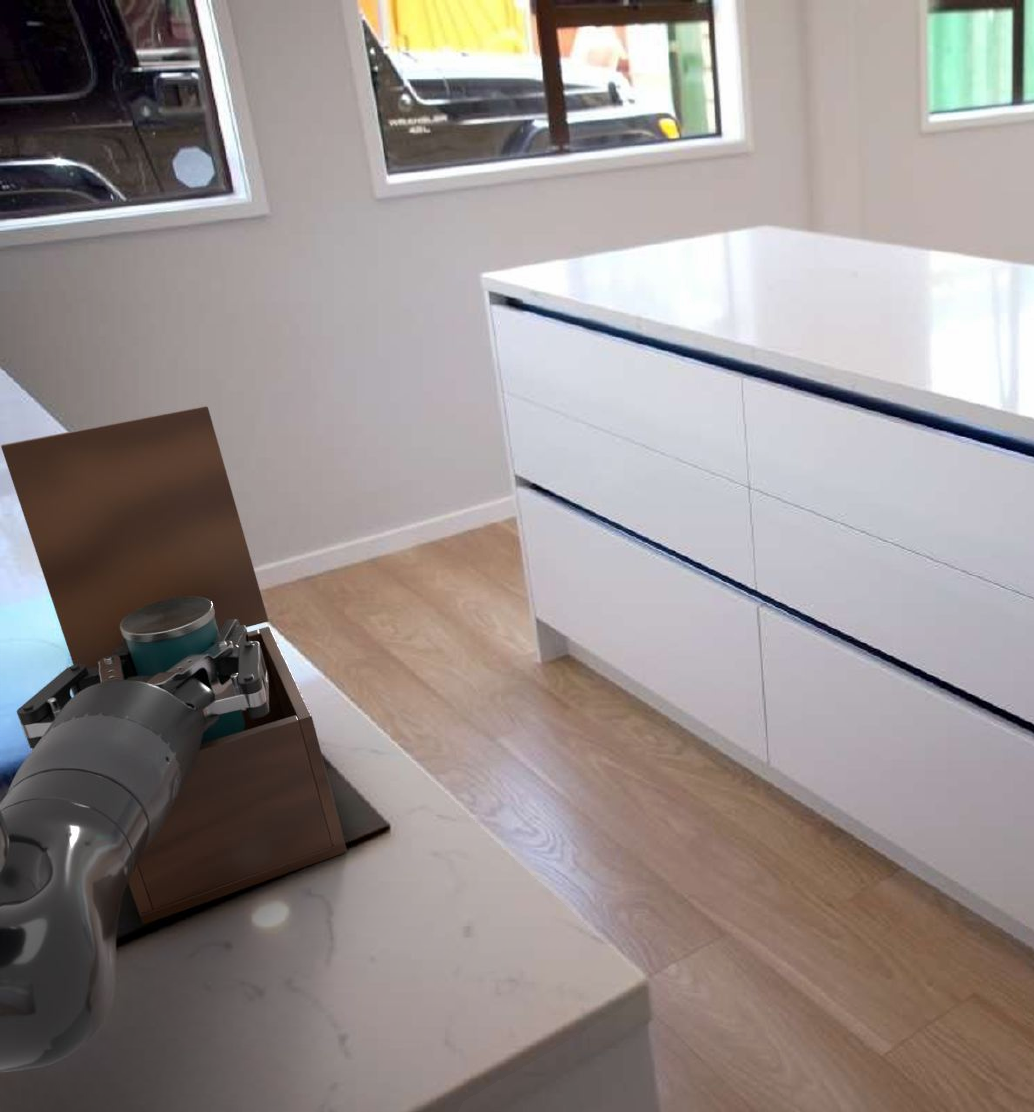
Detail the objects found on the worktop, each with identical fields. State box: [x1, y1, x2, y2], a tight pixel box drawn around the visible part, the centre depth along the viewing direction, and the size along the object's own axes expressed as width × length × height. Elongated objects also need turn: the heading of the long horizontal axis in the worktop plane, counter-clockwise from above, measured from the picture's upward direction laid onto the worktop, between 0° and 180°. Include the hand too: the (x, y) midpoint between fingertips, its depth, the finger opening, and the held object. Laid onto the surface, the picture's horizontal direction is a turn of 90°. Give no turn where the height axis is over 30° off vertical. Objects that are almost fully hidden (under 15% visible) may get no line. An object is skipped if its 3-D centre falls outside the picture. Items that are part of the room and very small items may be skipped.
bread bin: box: [127, 625, 348, 925], centre depth 87 cm, size 16×13×11 cm
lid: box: [0, 405, 269, 669], centre depth 88 cm, size 16×13×1 cm
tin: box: [120, 596, 245, 744], centre depth 82 cm, size 5×5×9 cm
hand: (189, 638), depth 84 cm, fingers closed on tin, 5 cm apart
